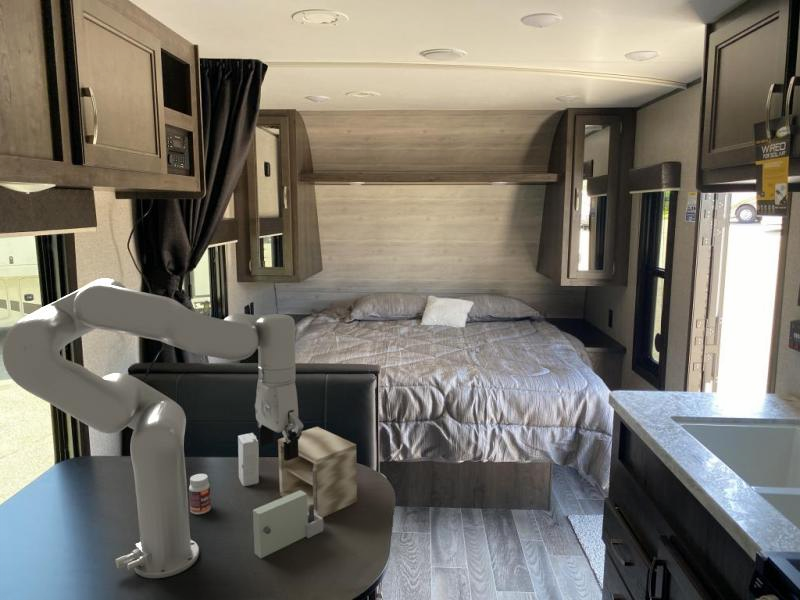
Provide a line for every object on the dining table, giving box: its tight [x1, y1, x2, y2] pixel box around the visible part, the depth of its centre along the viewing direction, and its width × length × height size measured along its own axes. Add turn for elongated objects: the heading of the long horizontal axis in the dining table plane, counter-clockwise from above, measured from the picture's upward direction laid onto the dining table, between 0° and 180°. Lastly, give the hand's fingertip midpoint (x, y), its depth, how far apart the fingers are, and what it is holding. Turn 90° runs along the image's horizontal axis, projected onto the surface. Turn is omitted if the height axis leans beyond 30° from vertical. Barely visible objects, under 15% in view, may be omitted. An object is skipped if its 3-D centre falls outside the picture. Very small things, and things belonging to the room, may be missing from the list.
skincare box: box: [237, 432, 260, 487], centre depth 152 cm, size 6×4×12 cm
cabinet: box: [277, 426, 358, 523], centre depth 140 cm, size 16×19×15 cm
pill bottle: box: [188, 473, 212, 515], centre depth 138 cm, size 5×5×8 cm
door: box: [252, 490, 324, 559], centre depth 125 cm, size 16×4×10 cm, turn 135°
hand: (278, 451), depth 122 cm, fingers open, 9 cm apart
